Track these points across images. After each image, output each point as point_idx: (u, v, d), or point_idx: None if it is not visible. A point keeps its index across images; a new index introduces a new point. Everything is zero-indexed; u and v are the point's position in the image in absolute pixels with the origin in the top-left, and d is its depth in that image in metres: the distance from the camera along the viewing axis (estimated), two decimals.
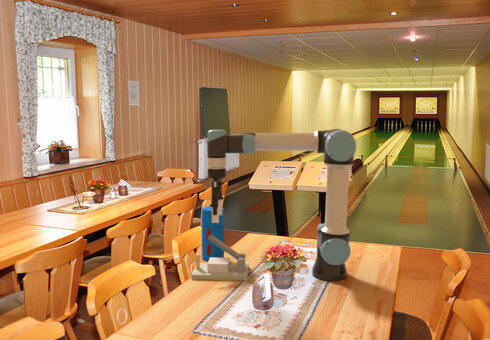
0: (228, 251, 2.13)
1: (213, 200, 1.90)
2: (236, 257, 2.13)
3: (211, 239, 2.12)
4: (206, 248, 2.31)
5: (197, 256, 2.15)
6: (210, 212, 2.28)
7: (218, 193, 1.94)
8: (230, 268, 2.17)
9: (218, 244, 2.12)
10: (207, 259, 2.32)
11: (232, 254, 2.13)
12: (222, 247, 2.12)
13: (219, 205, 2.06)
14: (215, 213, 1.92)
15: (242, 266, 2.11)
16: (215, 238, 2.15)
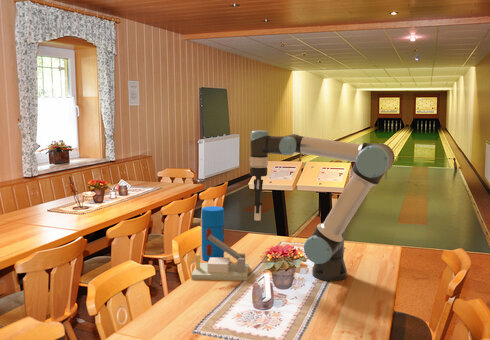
0: (228, 251, 2.13)
1: (256, 201, 2.07)
2: (236, 257, 2.13)
3: (211, 239, 2.12)
4: (206, 248, 2.31)
5: (197, 256, 2.15)
6: (210, 212, 2.28)
7: None
8: (230, 268, 2.17)
9: (218, 244, 2.12)
10: (207, 259, 2.32)
11: (232, 254, 2.13)
12: (222, 247, 2.12)
13: None
14: (258, 211, 2.10)
15: (242, 266, 2.11)
16: (215, 238, 2.15)
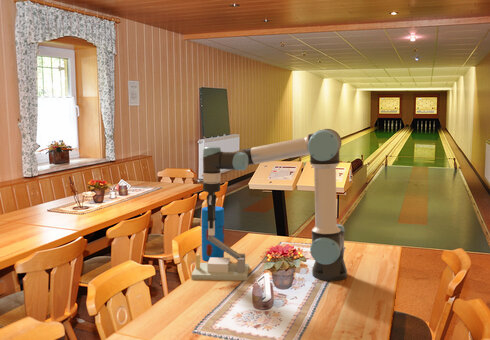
0: (228, 251, 2.13)
1: (209, 216, 2.09)
2: (236, 257, 2.13)
3: (211, 239, 2.12)
4: (206, 248, 2.31)
5: (197, 256, 2.15)
6: None
7: (213, 208, 2.10)
8: (230, 268, 2.17)
9: (218, 244, 2.12)
10: (207, 259, 2.32)
11: (232, 254, 2.13)
12: (222, 247, 2.13)
13: None
14: (211, 227, 2.12)
15: (242, 266, 2.11)
16: (215, 238, 2.15)
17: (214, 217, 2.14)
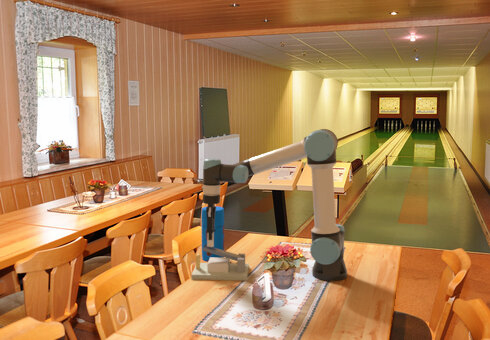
0: (226, 255, 2.13)
1: (208, 228, 2.10)
2: (235, 259, 2.13)
3: (206, 249, 2.13)
4: None
5: (197, 256, 2.15)
6: None
7: (213, 220, 2.11)
8: (230, 268, 2.17)
9: (214, 252, 2.13)
10: (207, 259, 2.32)
11: (231, 257, 2.13)
12: (219, 253, 2.13)
13: None
14: (210, 238, 2.12)
15: (242, 266, 2.11)
16: (210, 247, 2.15)
17: (213, 229, 2.15)
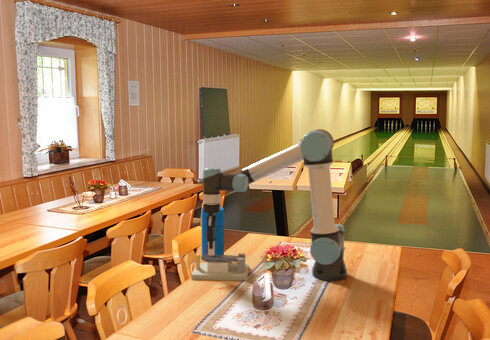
0: (225, 259, 2.13)
1: (209, 237, 2.10)
2: (235, 260, 2.13)
3: (204, 258, 2.14)
4: (206, 248, 2.31)
5: (197, 256, 2.15)
6: None
7: (213, 229, 2.12)
8: (230, 268, 2.17)
9: (213, 258, 2.13)
10: None
11: (230, 259, 2.13)
12: (218, 259, 2.13)
13: None
14: (211, 247, 2.13)
15: (242, 266, 2.11)
16: None
17: (214, 237, 2.15)
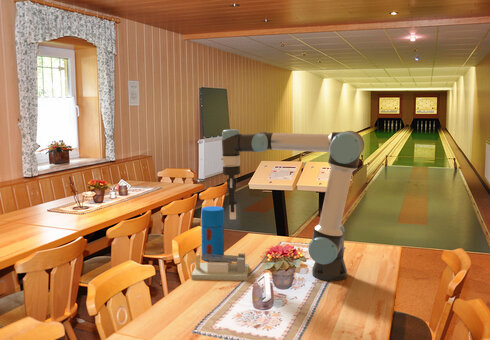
0: (225, 259, 2.13)
1: (230, 199, 2.07)
2: (235, 260, 2.13)
3: (204, 258, 2.14)
4: (206, 248, 2.31)
5: (197, 256, 2.15)
6: (210, 212, 2.28)
7: (234, 191, 2.09)
8: (230, 268, 2.17)
9: (213, 258, 2.13)
10: None
11: (230, 259, 2.13)
12: (218, 259, 2.13)
13: None
14: (232, 210, 2.10)
15: (242, 266, 2.11)
16: (208, 255, 2.16)
17: (235, 201, 2.12)
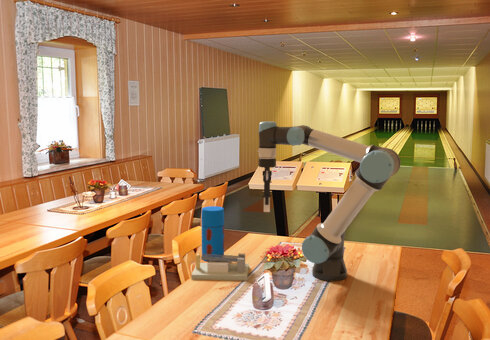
0: (225, 259, 2.13)
1: (266, 192, 2.06)
2: (235, 260, 2.13)
3: (204, 258, 2.14)
4: (206, 248, 2.31)
5: (197, 256, 2.15)
6: (210, 212, 2.28)
7: None
8: (230, 268, 2.17)
9: (213, 258, 2.13)
10: None
11: (230, 259, 2.13)
12: (218, 259, 2.13)
13: None
14: (267, 203, 2.09)
15: (242, 266, 2.11)
16: (208, 255, 2.16)
17: None
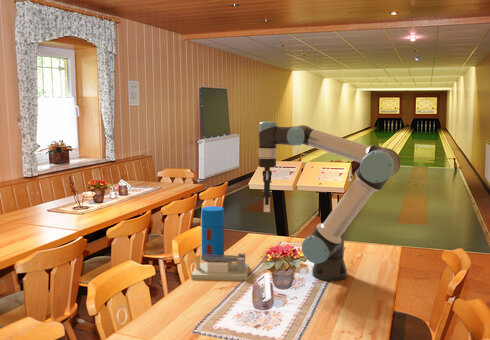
0: (225, 259, 2.13)
1: (266, 192, 2.06)
2: (235, 260, 2.13)
3: (204, 258, 2.14)
4: (206, 248, 2.31)
5: (197, 256, 2.15)
6: (210, 212, 2.28)
7: None
8: (230, 268, 2.17)
9: (213, 258, 2.13)
10: None
11: (230, 259, 2.13)
12: (218, 259, 2.13)
13: None
14: (267, 203, 2.09)
15: (242, 266, 2.11)
16: (208, 255, 2.16)
17: None
